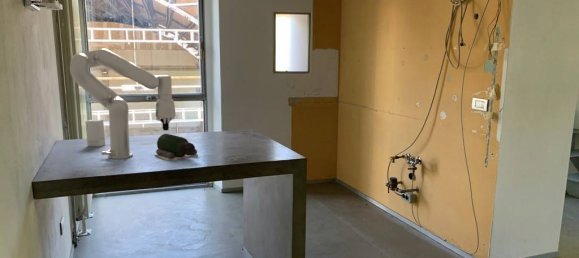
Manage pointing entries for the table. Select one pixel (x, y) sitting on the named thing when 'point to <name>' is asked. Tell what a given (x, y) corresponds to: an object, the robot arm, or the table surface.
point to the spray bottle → (175, 145)
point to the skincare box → (95, 133)
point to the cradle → (172, 155)
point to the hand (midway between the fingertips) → (165, 130)
